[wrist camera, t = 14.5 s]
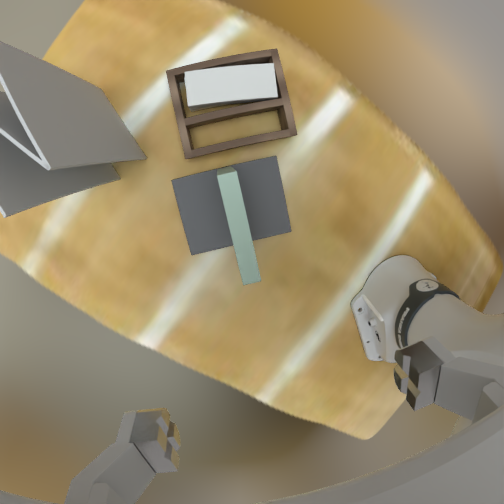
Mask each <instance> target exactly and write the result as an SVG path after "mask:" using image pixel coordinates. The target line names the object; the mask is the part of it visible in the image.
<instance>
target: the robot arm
mask: <svg viewBox="0 0 504 504" xmlns="http://www.w3.org/2000/svg"><path fill="white" fill-rule="evenodd" d="M351 308H352V311H353V314H354V317H355V321H356V324H357V327H358V331H359V334H360V337H361V341H362V344H363V348H364V351H365V355H366V357H367V358H368V359H369V360H372V361H382V360H385V361H386V362H389V363H397V365H396V366H395V368H394V379H395V383H396V385H397V387H398V389H399V390H400V392H402V393H405V394H407V396H406V400H407V402H408V403H409V404H410V406H411V407H412V409H413V410H414V411H416V410H418V409H420V408H423V407H425V406H427V405H429V404H432V403H434V402H435V404H437V405H439V406H441V407H443V408H445V409H447V410H449V411H452V412H454V413H456V414H458V415H460V417H459V418H458V420H457V422H456V424H455V426H454V429H453V431H452V433H451V436H450V437H449V438H447V439H446V440H443V441H441V442H439V443H437V444H435V445H433V446H431V447H430V448H427V449H425V450H423V451H421V452H419V453H417V454H415V455H413V456H410V457H408V458H406V459H404V460H401V461H399V462H397V463H394V464H392V465H389V466H387V467H384V468H382V469H379V470H377V471H374V472H372V473H368V474H366V475H363V476H360V477H357V478H354V479H351V480H349V481H345V482H342V483H339V484H336V485H332V486H329V487H326V488H322V489H318V490H315V491H311V492H307V493H303V494H299V495H295V496H290V497H286V498H281V499H276V500H271V501H266V502H260V503H254V504H504V313H502V314H498V315H487V314H484V313H481V312H479V311H477V310H476V309H474V308H472V307H470V306H469V305H467V304H465V303H464V302H462V301H461V300H460V298H459V296H458V295H457V294H455V293H454V292H453V291H452V290H450V289H449V288H447V287H446V286H445V285H443V284H441V283H439V282H438V281H437V279H436V277H435V276H434V275H433V274H432V273H430V272H428V271H426V270H425V268H424V267H423V266H422V265H421V264H420V262H419V261H418V260H416V259H415V258H413V257H411V256H407V255H398V256H394V257H391V258H389V259H387V260H385V261H384V262H382V263H381V264H380V265H378V266H377V267H376V268H375V269H374V271H373V272H372V273H371V275H370V276H369V278H368V279H367V281H366V283H365V285H364V287H363V289H362V290H361V291H360V292H359V293H358V294H357V295H356V296H355V297H354V299H353V300H352V302H351ZM359 308H361V309H360V310H358V309H359ZM179 448H180V436H179V432H178V429H177V427H176V425H175V423H173V422H171V421H170V414H169V412H168V411H167V409H165V408H157V409H147V410H139V411H126V412H125V413H124V415H123V418H122V421H121V425H120V428H119V432H118V435H117V439H116V443H115V444H111V445H110V446H109V447H108V448H107V449H106V450H104V451H103V452H102V453H101V454H100V455H99V456H98V457H97V458H96V459H95V460H94V461H92V462H91V463H90V464H89V465H88V466H87V467H86V468H84V469H83V470H82V471H81V472H80V473H79V474H78V475H77V476H76V477H74V478H73V479H72V481H71V484H70V487H69V490H68V493H67V496H66V500H65V503H64V504H135V502H136V501H137V500H138V498H139V497H140V496H141V494H142V493H143V492H144V490H145V489H146V487H147V486H148V485H149V483H150V482H151V481H152V479H153V478H154V477H155V475H156V473H163V472H174V471H178V466H179V456H178V454H177V453H176V451H177V450H178V449H179ZM0 504H57V503H51V502H46V501H40V500H36V499H32V498H27V497H23V496H19V495H15V494H11V493H8V492H5V491H1V490H0Z"/></svg>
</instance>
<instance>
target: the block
mask: <svg viewBox="0 0 504 504" xmlns="http://www.w3.org/2000/svg"><path fill="white" fill-rule="evenodd" d="M217 178H218V182H219V187H220V191H221V195H222V199H223V204H224V208H225V212H226V216H227V220H228V224H229V229H230V233H231V237H232V241H233V245H234V249H235V253H236V257H237V261H238V266H239V270H240V274H241V278H242V282H243V285H247V284H251V283H255V282H259V281H261V277H260V273H259V268H258V264H257V259H256V255H255V250H254V246H253V242H252V237H251V233H250V228H249V224H248V219H247V215H246V210H245V206H244V202H243V197H242V193H241V188H240V184H239V180H238V175H237V171H236V170H235V169H234V168H233V167H231V166H229V167H224V168H220V169H218V170H217Z"/></svg>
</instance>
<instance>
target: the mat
mask: <svg viewBox="0 0 504 504" xmlns="http://www.w3.org/2000/svg"><path fill="white" fill-rule="evenodd" d="M226 167H229V166H226ZM231 167H233V168H234V169H235V170H236V171H237V175H238V180H239V184H240V188H241V193H242V197H243V202H244V206H245V210H246V215H247V219H248V224H249V228H250V233H251V237H252V241H254V240H258V239H262V238H266V237H270V236H275V235H279V234H283V233H288V232H291V227H290V221H289V216H288V211H287V206H286V201H285V196H284V191H283V186H282V181H281V176H280V171H279V166H278V162H277V157H276V156H272V157H267V158H263V159H258V160H253V161H249V162H244V163H240V164H235V165H231ZM222 168H224V167H222ZM218 169H220V168H218ZM218 169H214V170H210V171H206V172H202V173H198V174H194V175H190V176H186V177H182V178H178V179H175V180H172V184H173V188H174V192H175V196H176V200H177V204H178V208H179V211H180V215H181V219H182V223H183V226H184V230H185V234H186V237H187V241H188V244H189V248H190V252H191V255H195V254H199V253H203V252H207V251H212V250H216V249H220V248H224V247H228V246H233V241H232V237H231V233H230V229H229V224H228V220H227V216H226V212H225V208H224V204H223V199H222V195H221V191H220V187H219V182H218V178H217V170H218Z"/></svg>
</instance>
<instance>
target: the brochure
mask: <svg viewBox="0 0 504 504" xmlns="http://www.w3.org/2000/svg"><path fill="white" fill-rule="evenodd" d="M0 81H1V84H2V86H3V88H4V90H5V92H1V91H0V211H1V213H2V215H3V217H4V218H6V217H8V216H11V215H13V214H16V213H19V212H21V211H24V210H27V209H30V208H32V207H35V206H38V205H41V204H43V203H46V202H49V201H52V200H55V199H58V198H61V197H64V196H67V195H70V194H73V193H76V192H80V191H83V190H86V189H89V188H92V187H96V186H99V185H102V184H106V183H109V182H113V181H116V180H120V179H121V178H120V177H119V175H118V174H117V172H116V171H115V169H114V168H113V166H112V165H111V162H121V161H132V160H145V159H147V157H146V156H145V154H144V153H143V151H142V150H141V148H140V147H139V145H138V144H137V142H136V141H135V139H134V138H133V136H132V135H131V133H130V132H129V130H128V129H127V127H126V126H125V124H124V123H123V121H122V120H121V118H120V117H119V115H118V114H117V112H116V111H115V109H114V108H113V106H112V105H111V103H110V102H109V100H108V98H107V97H106V95H105V94H104V92H103V91H102V89H100V88H98V87H96V86H95V85H93V84H91V83H89V82H87V81H85V80H83V79H81V78H79V77H77V76H75V75H73V74H71V73H69V72H67V71H65V70H63V69H60V68H58V67H56V66H54V65H52V64H50V63H48V62H46V61H44V60H41V59H39V58H37V57H35V56H33V55H31V54H28V53H26V52H24V51H21V50H19V49H17V48H15V47H13V46H10V45H8V44H5V43H3V42H1V41H0Z"/></svg>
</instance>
